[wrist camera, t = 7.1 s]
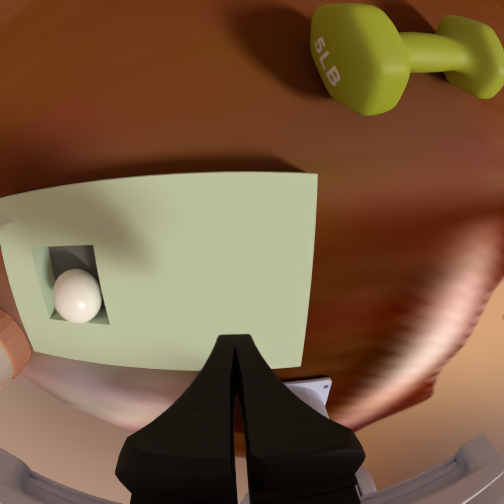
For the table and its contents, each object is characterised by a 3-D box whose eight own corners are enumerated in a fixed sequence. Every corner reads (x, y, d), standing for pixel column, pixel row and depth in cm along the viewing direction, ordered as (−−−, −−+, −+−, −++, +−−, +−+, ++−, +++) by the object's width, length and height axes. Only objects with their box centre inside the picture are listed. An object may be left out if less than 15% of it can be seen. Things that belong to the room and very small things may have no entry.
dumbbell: (329, 126, 17) (382, 110, 10) (289, 30, 14) (317, -24, 7) (470, 102, 16) (524, 98, 9) (441, 28, 14) (488, 9, 7)
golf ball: (88, 285, 20) (117, 308, 19) (56, 315, 17) (84, 343, 16) (73, 250, 17) (103, 272, 16) (36, 282, 15) (62, 311, 14)
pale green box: (294, 347, 22) (326, 443, 13) (46, 337, 20) (-4, 402, 11) (306, 172, 18) (384, 186, 8) (12, 194, 16) (-73, 223, 6)
